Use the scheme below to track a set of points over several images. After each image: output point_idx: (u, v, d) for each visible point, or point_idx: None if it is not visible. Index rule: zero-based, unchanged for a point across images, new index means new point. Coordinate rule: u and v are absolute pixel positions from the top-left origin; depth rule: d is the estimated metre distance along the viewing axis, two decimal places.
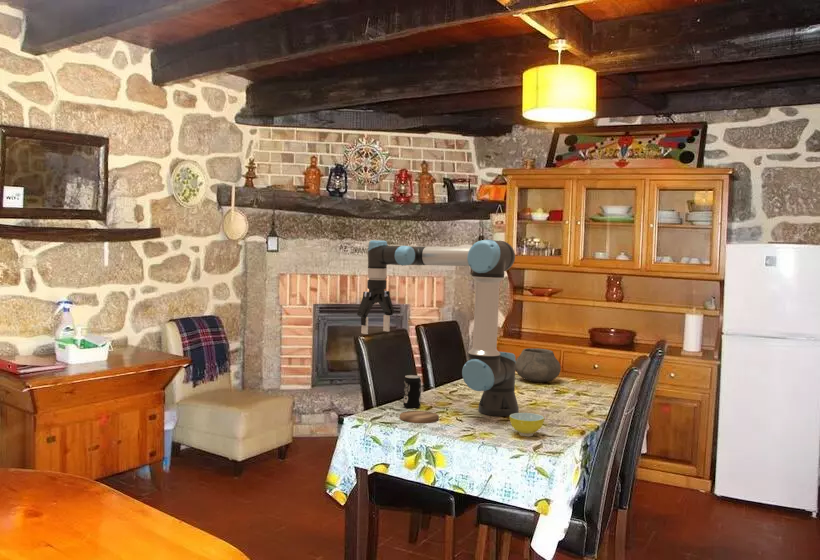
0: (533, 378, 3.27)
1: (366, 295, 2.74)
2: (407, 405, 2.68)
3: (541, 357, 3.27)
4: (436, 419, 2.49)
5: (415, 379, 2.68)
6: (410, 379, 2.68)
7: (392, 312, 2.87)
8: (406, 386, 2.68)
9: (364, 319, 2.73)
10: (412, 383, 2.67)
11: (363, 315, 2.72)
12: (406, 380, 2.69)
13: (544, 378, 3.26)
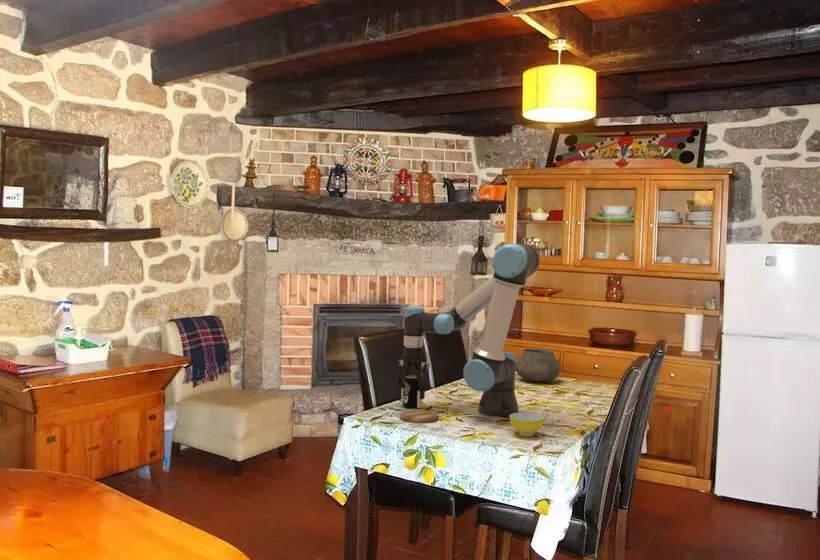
0: (533, 378, 3.27)
1: None
2: (407, 405, 2.68)
3: (541, 357, 3.27)
4: (436, 419, 2.49)
5: (415, 379, 2.68)
6: (410, 379, 2.68)
7: (423, 388, 2.67)
8: (406, 386, 2.68)
9: (401, 390, 2.73)
10: (412, 383, 2.67)
11: (397, 385, 2.73)
12: (406, 380, 2.69)
13: (544, 378, 3.26)
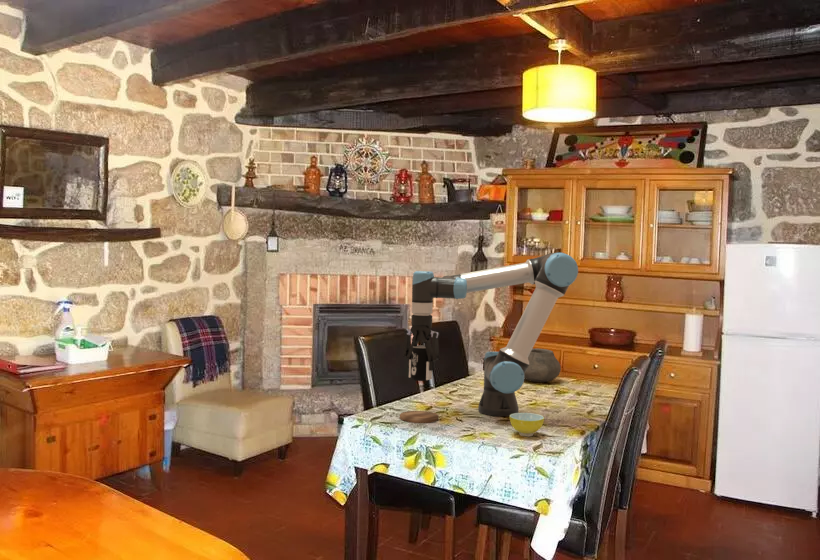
0: (533, 378, 3.27)
1: None
2: (415, 377, 2.49)
3: (541, 357, 3.27)
4: (436, 419, 2.49)
5: (424, 349, 2.49)
6: (418, 349, 2.49)
7: (433, 358, 2.48)
8: (414, 357, 2.50)
9: (408, 361, 2.54)
10: (420, 353, 2.49)
11: (405, 356, 2.54)
12: (414, 350, 2.50)
13: (544, 378, 3.26)
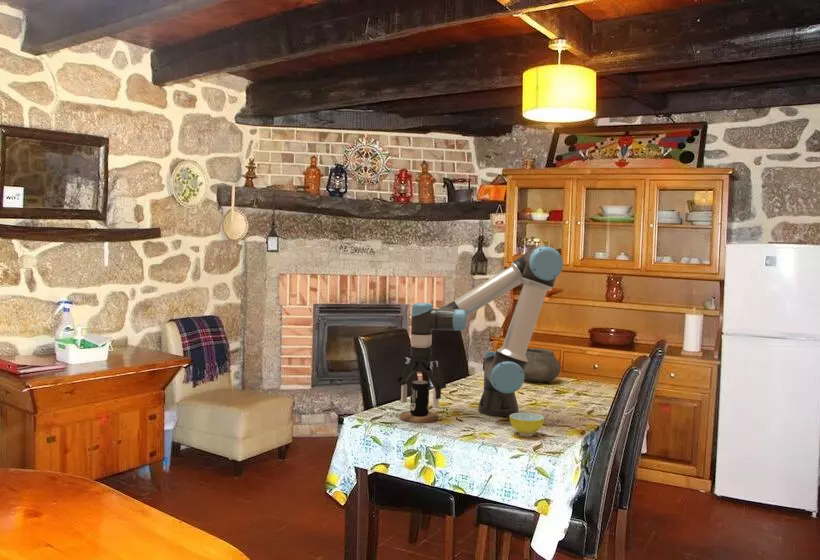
0: (533, 378, 3.27)
1: None
2: (415, 413, 2.50)
3: (541, 357, 3.27)
4: (436, 419, 2.49)
5: (423, 385, 2.50)
6: (418, 385, 2.50)
7: (440, 387, 2.46)
8: (413, 392, 2.50)
9: (400, 386, 2.56)
10: (420, 389, 2.49)
11: (397, 382, 2.56)
12: (413, 386, 2.50)
13: (544, 378, 3.26)
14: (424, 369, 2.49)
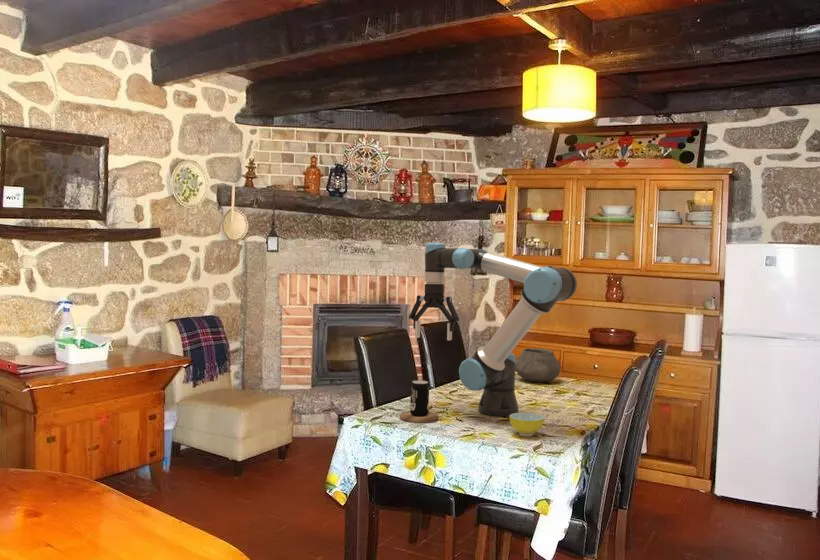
0: (533, 378, 3.27)
1: None
2: (415, 413, 2.50)
3: (541, 357, 3.27)
4: (436, 419, 2.49)
5: (423, 385, 2.50)
6: (418, 385, 2.50)
7: (454, 320, 2.63)
8: (413, 392, 2.50)
9: (414, 322, 2.72)
10: (420, 389, 2.49)
11: (410, 318, 2.72)
12: (413, 386, 2.50)
13: (544, 378, 3.26)
14: (438, 304, 2.66)
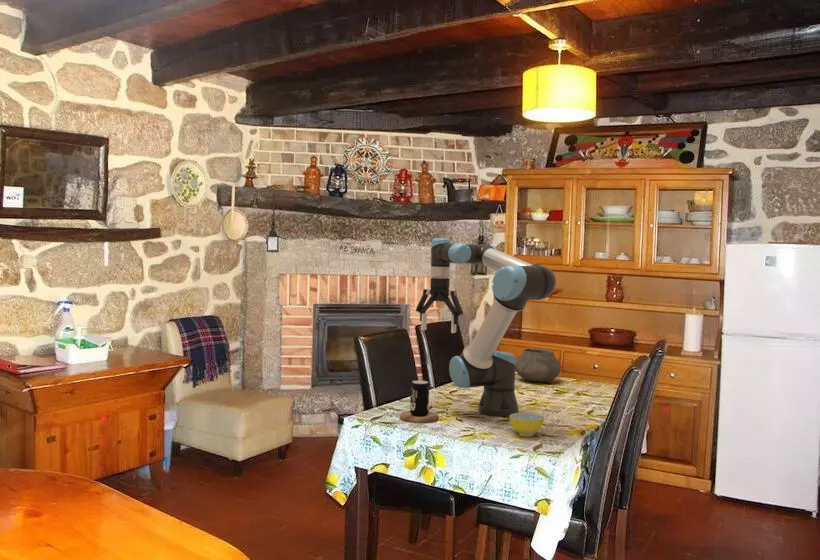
0: (533, 378, 3.27)
1: None
2: (415, 413, 2.50)
3: (541, 357, 3.27)
4: (436, 419, 2.49)
5: (423, 385, 2.50)
6: (418, 385, 2.50)
7: (457, 313, 2.72)
8: (413, 392, 2.50)
9: (421, 315, 2.81)
10: (420, 389, 2.49)
11: (417, 311, 2.81)
12: (413, 386, 2.50)
13: (544, 378, 3.26)
14: (443, 298, 2.75)
